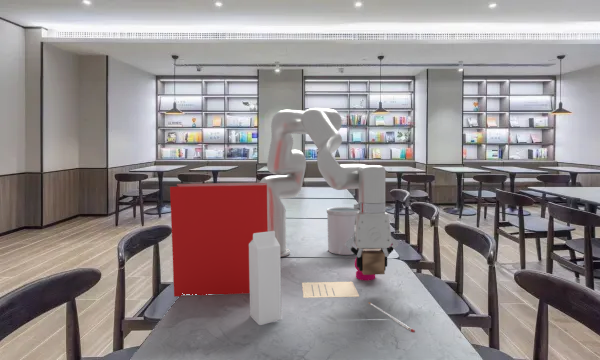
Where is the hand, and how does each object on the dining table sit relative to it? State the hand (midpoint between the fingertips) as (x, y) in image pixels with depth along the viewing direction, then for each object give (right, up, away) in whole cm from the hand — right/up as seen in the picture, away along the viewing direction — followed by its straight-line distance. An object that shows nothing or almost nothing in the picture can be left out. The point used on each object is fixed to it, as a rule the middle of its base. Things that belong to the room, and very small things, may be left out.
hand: (371, 268), depth 110 cm
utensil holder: (-2, -4, +47) cm, 47 cm away
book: (-44, -8, +5) cm, 45 cm away
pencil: (+1, -9, -14) cm, 17 cm away
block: (0, -1, 0) cm, 1 cm away
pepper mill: (+1, -6, +14) cm, 15 cm away
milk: (-30, -9, -15) cm, 34 cm away
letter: (-12, -7, +3) cm, 14 cm away
